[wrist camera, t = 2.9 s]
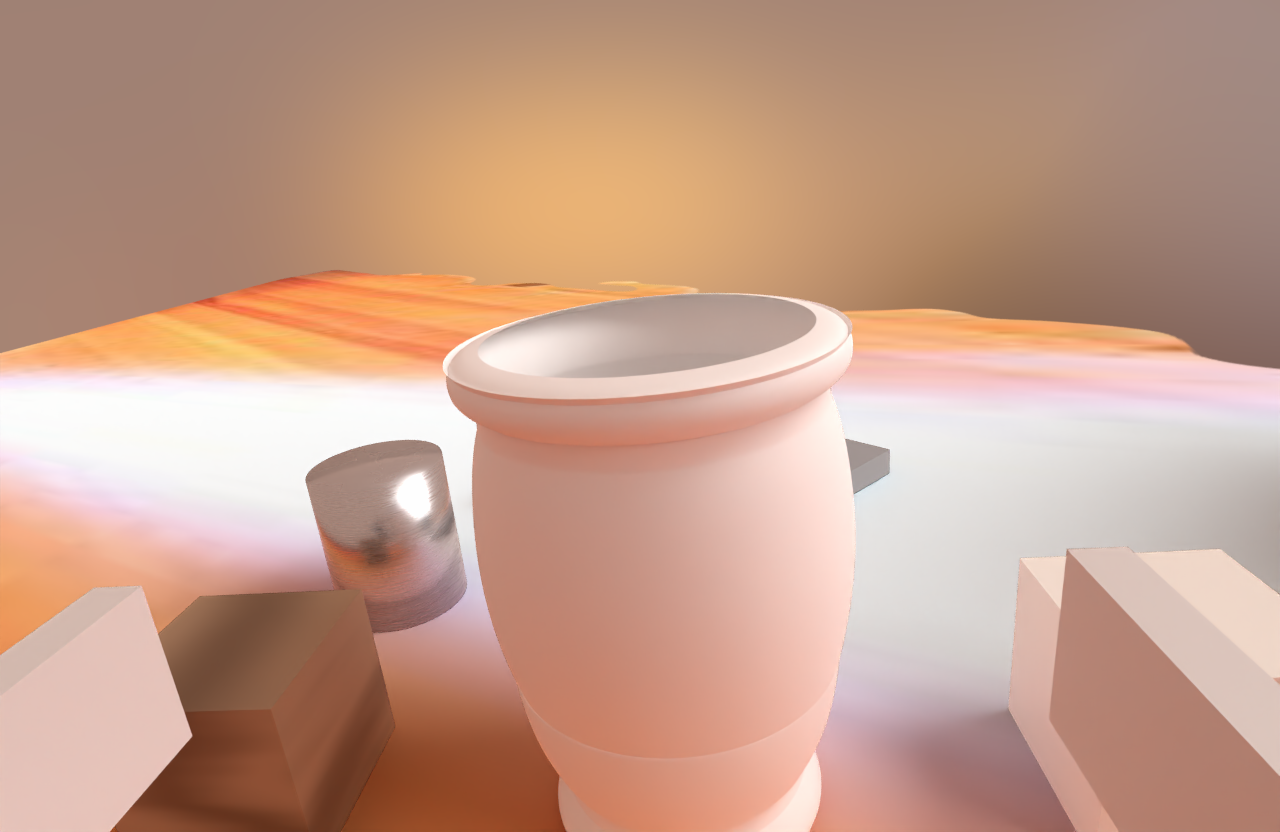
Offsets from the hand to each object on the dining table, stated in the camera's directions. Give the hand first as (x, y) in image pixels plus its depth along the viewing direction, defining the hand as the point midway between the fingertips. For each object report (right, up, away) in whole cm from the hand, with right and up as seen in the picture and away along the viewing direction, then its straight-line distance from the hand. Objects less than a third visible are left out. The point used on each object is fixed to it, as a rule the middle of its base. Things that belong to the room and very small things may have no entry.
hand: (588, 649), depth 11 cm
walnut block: (-12, -9, +15) cm, 21 cm away
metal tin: (-11, -5, +26) cm, 29 cm away
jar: (+2, -9, +14) cm, 16 cm away
